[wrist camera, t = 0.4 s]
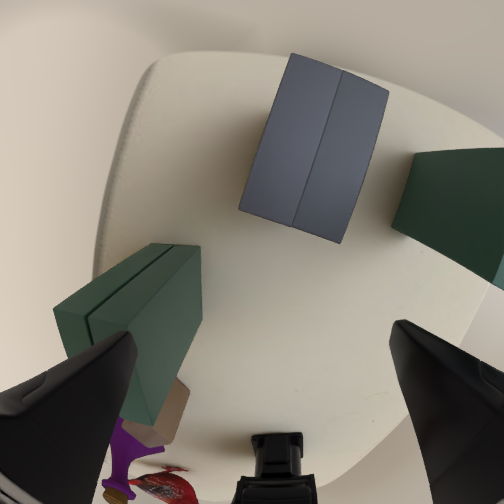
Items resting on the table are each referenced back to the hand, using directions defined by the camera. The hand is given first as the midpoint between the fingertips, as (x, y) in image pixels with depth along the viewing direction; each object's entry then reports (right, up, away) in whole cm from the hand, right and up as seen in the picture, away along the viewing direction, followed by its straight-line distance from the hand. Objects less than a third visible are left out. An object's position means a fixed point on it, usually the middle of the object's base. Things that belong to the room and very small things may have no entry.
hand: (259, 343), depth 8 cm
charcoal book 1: (+2, +10, +12) cm, 16 cm away
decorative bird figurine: (-15, -34, +26) cm, 45 cm away
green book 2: (-6, 0, +15) cm, 16 cm away
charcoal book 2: (+4, +10, +12) cm, 16 cm away
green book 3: (+14, +8, +12) cm, 20 cm away
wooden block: (-10, -12, +19) cm, 25 cm away
